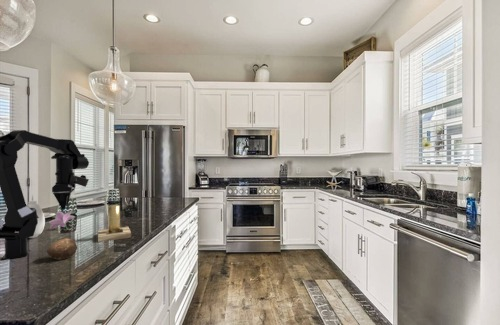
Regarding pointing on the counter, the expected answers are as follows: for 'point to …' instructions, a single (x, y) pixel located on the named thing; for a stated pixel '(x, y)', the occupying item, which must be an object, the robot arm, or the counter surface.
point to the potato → (62, 249)
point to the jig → (114, 234)
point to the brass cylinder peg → (113, 219)
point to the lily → (61, 219)
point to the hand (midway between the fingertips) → (65, 207)
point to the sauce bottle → (40, 220)
